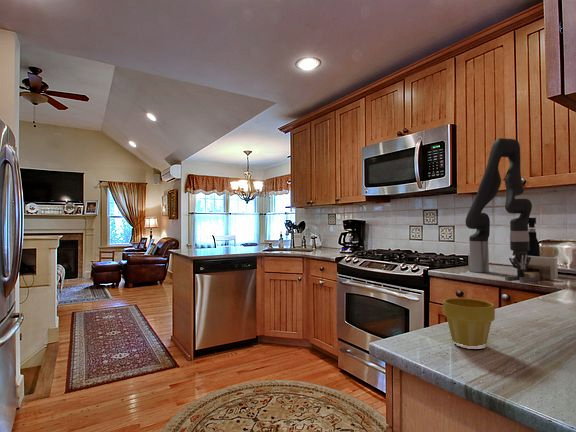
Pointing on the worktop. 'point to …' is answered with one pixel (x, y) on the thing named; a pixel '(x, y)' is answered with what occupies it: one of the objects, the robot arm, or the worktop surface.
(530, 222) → the wine bottle
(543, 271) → the block
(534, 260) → the backstop board
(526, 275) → the peg
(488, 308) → the plant pot
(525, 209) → the robot arm
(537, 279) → the guide rails
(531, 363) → the worktop surface
